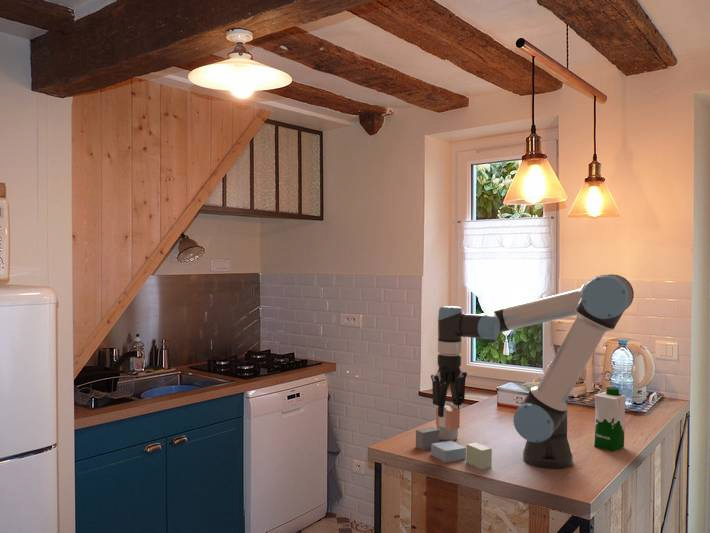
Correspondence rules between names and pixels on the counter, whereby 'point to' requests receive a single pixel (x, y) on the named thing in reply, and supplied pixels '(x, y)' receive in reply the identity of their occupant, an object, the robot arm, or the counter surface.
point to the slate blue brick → (448, 451)
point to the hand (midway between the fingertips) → (448, 425)
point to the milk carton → (609, 419)
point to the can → (447, 432)
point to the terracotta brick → (450, 417)
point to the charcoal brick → (426, 437)
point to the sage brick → (479, 455)
